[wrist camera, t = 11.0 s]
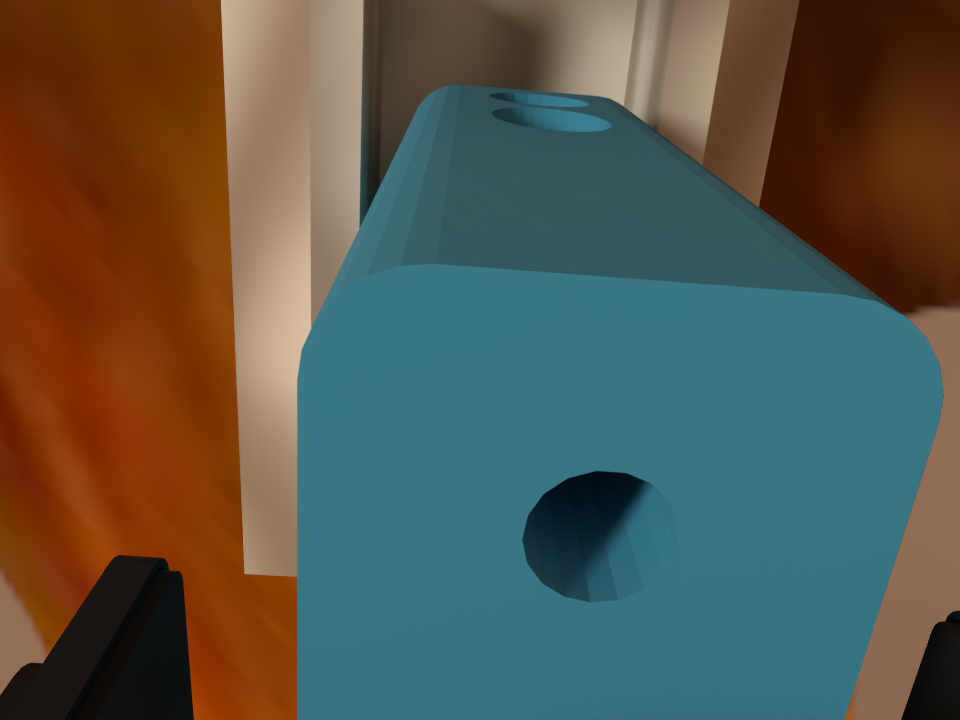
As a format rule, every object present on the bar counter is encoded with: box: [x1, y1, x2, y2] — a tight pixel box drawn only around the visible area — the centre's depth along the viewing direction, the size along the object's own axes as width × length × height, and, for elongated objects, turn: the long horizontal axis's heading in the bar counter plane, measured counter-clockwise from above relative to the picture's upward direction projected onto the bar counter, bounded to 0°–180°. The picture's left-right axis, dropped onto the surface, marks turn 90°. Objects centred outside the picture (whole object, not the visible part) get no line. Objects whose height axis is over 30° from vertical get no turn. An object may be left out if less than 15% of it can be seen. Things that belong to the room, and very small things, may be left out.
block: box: [297, 85, 944, 720], centre depth 18 cm, size 12×5×20 cm, turn 175°
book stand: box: [221, 0, 799, 577], centre depth 21 cm, size 16×24×16 cm, turn 176°
